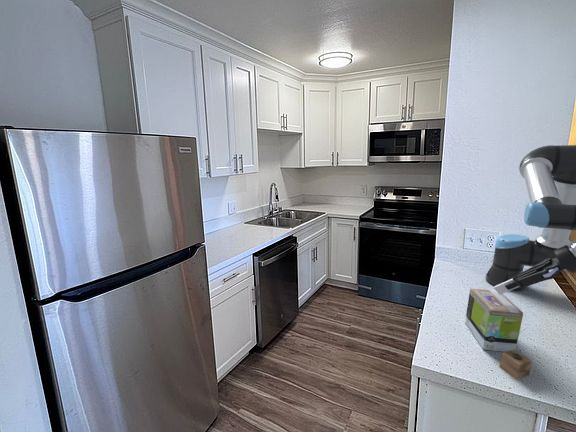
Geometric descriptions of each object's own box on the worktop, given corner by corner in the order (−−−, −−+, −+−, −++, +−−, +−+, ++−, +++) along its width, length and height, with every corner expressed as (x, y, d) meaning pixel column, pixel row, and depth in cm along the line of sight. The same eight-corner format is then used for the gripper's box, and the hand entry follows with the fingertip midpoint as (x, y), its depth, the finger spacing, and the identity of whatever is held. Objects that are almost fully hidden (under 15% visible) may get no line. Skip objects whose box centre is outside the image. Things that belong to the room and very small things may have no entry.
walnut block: (511, 363, 90) (514, 348, 89) (528, 375, 86) (532, 360, 84) (499, 367, 89) (502, 352, 88) (516, 379, 84) (519, 364, 83)
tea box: (516, 353, 94) (525, 312, 91) (482, 350, 96) (489, 310, 92) (493, 325, 109) (499, 289, 105) (463, 323, 110) (469, 287, 107)
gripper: (590, 274, 76) (502, 308, 91) (588, 260, 86) (508, 293, 101) (567, 250, 79) (485, 287, 94) (567, 239, 88) (492, 274, 103)
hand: (497, 290), depth 97 cm, fingers closed
